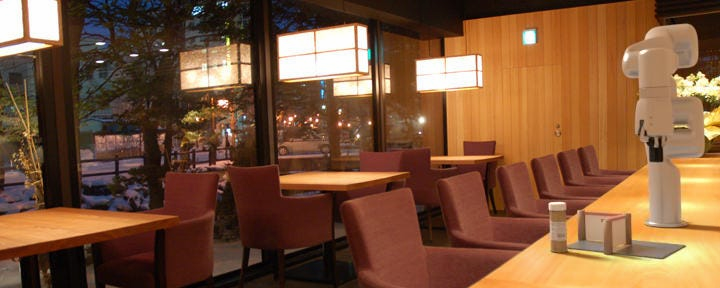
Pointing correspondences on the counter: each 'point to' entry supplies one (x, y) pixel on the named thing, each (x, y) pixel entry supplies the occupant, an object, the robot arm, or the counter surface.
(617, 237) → the fence gate
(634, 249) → the card
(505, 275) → the counter surface
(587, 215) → the fence fixed
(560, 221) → the sprinkles bottle
